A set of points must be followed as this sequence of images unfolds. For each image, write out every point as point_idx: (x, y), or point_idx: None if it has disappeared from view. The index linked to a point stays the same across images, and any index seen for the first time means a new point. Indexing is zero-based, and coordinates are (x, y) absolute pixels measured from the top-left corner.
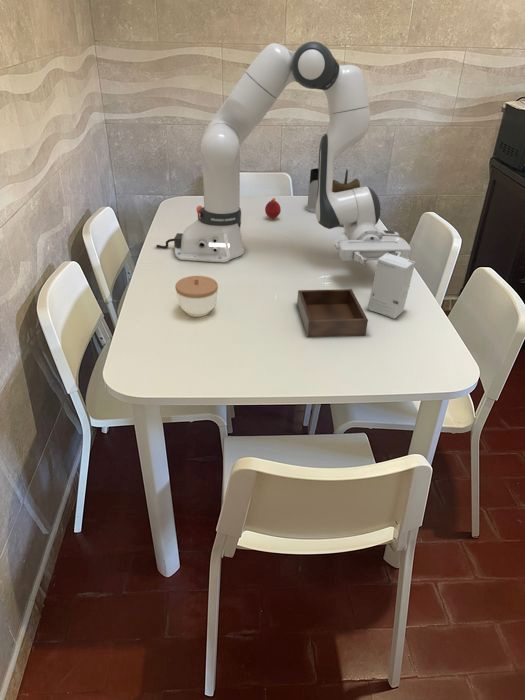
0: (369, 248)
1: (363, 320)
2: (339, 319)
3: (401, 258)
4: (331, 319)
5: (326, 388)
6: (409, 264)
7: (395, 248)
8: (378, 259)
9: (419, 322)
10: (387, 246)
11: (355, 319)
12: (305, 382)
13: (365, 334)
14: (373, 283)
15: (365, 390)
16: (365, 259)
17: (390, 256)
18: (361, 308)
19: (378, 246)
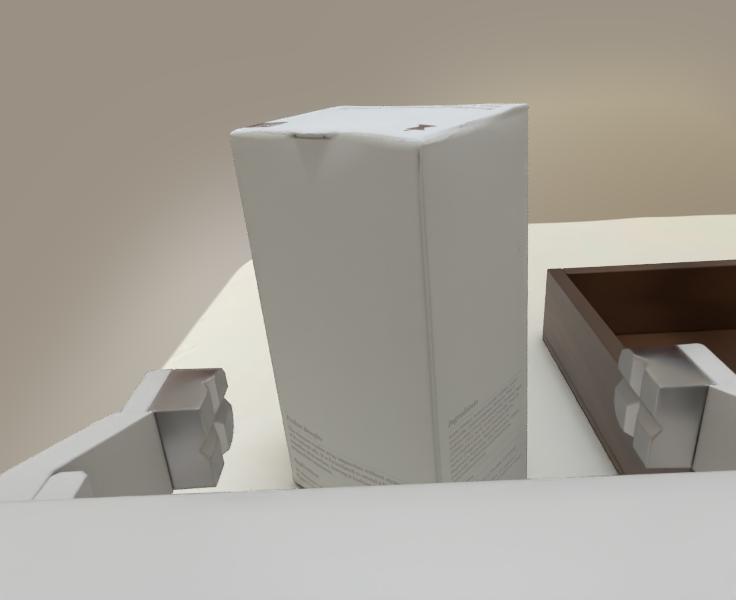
0: (633, 485)
1: (567, 270)
2: (677, 266)
3: (321, 122)
4: (714, 265)
5: (639, 223)
6: (302, 114)
7: (19, 502)
8: (525, 108)
9: (260, 404)
10: (129, 585)
11: (604, 268)
12: (699, 229)
13: (543, 334)
14: (524, 309)
15: (545, 224)
16: (645, 349)
17: (409, 118)
18: (582, 312)
19: (385, 581)
